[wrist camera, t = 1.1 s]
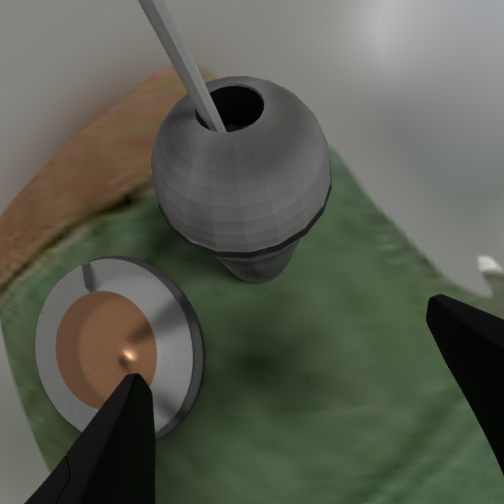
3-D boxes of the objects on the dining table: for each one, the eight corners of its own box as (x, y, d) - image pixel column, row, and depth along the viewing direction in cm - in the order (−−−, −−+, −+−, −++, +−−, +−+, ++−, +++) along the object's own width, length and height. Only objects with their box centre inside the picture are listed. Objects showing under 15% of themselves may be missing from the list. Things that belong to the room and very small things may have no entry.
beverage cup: (323, 277, 23) (460, 30, 4) (230, 319, 22) (29, 166, 3) (281, 194, 25) (279, -73, 6) (195, 231, 24) (54, -3, 5)
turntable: (220, 424, 19) (218, 427, 18) (64, 445, 19) (58, 447, 18) (168, 238, 24) (164, 234, 23) (31, 288, 23) (25, 286, 22)
